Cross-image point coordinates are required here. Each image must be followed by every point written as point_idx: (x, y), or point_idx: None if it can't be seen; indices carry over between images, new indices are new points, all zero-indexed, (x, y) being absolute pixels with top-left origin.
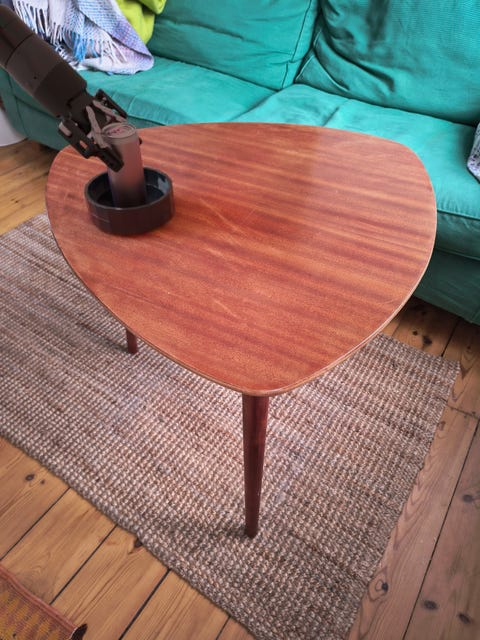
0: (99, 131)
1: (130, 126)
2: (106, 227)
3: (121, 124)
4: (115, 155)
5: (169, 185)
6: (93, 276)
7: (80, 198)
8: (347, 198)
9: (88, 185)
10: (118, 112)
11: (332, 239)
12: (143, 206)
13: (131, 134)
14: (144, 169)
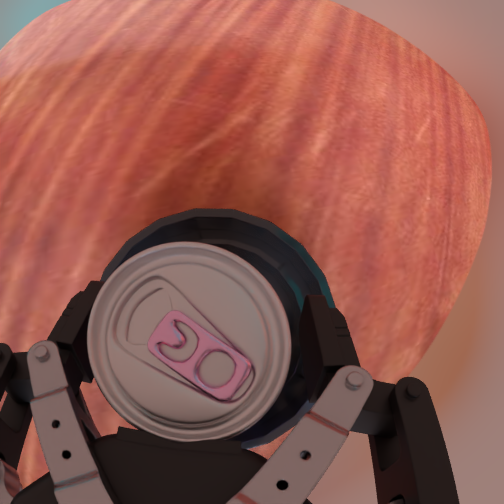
0: (318, 419)
1: (112, 295)
2: None
3: (98, 352)
4: (322, 324)
5: (188, 218)
6: (427, 329)
7: None
8: (144, 19)
9: None
10: (4, 386)
11: (248, 24)
12: (310, 259)
13: (229, 252)
14: None
